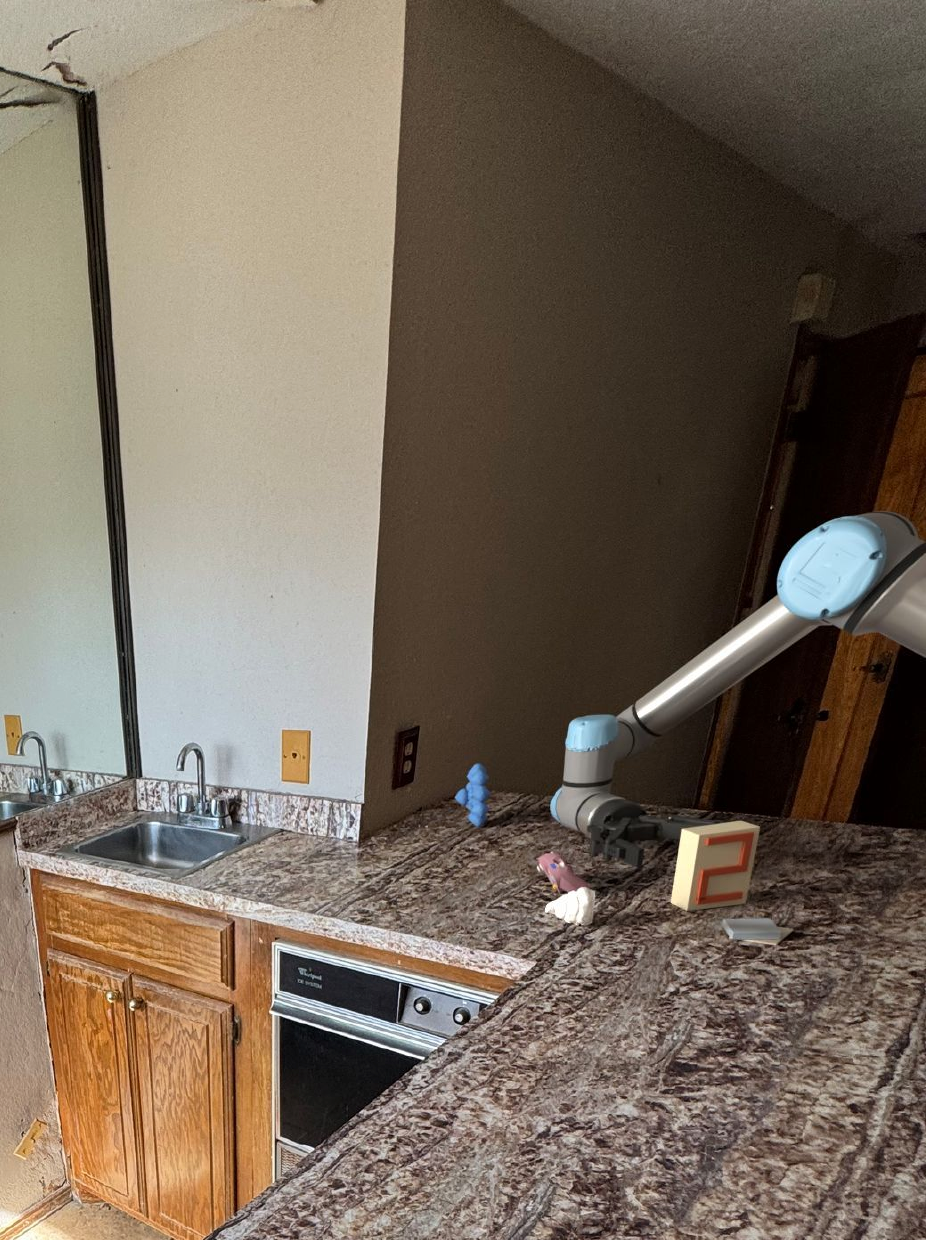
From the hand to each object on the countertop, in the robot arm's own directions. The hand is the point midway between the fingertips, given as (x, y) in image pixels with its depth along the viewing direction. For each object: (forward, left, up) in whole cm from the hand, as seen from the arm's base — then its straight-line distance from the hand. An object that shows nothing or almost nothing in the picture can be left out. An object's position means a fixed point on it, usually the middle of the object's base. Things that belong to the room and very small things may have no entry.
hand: (688, 851), depth 130 cm
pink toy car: (+14, -8, -6) cm, 17 cm away
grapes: (+11, -53, -6) cm, 55 cm away
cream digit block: (0, +6, -6) cm, 8 cm away
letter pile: (+4, +23, -6) cm, 24 cm away
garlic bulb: (+20, +7, -6) cm, 22 cm away
